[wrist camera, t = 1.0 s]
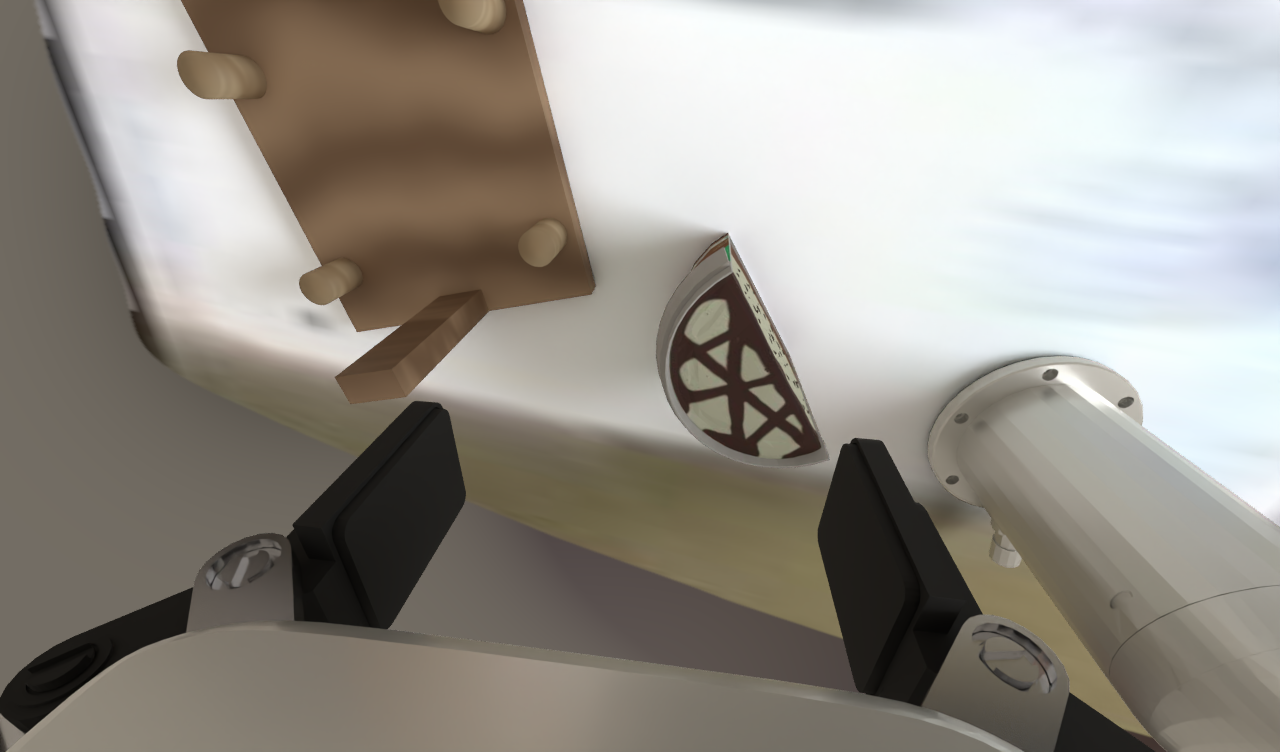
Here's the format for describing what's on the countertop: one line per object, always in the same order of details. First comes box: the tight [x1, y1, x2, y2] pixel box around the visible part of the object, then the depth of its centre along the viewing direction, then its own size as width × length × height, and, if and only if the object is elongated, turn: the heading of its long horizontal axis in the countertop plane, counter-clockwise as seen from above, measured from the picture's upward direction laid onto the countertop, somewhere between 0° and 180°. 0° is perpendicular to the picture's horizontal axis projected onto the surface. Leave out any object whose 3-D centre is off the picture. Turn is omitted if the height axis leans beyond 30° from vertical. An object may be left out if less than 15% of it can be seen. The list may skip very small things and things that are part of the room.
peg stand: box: [177, 0, 596, 404], centre depth 23 cm, size 19×17×12 cm
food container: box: [656, 233, 830, 468], centre depth 27 cm, size 12×6×10 cm, turn 31°
